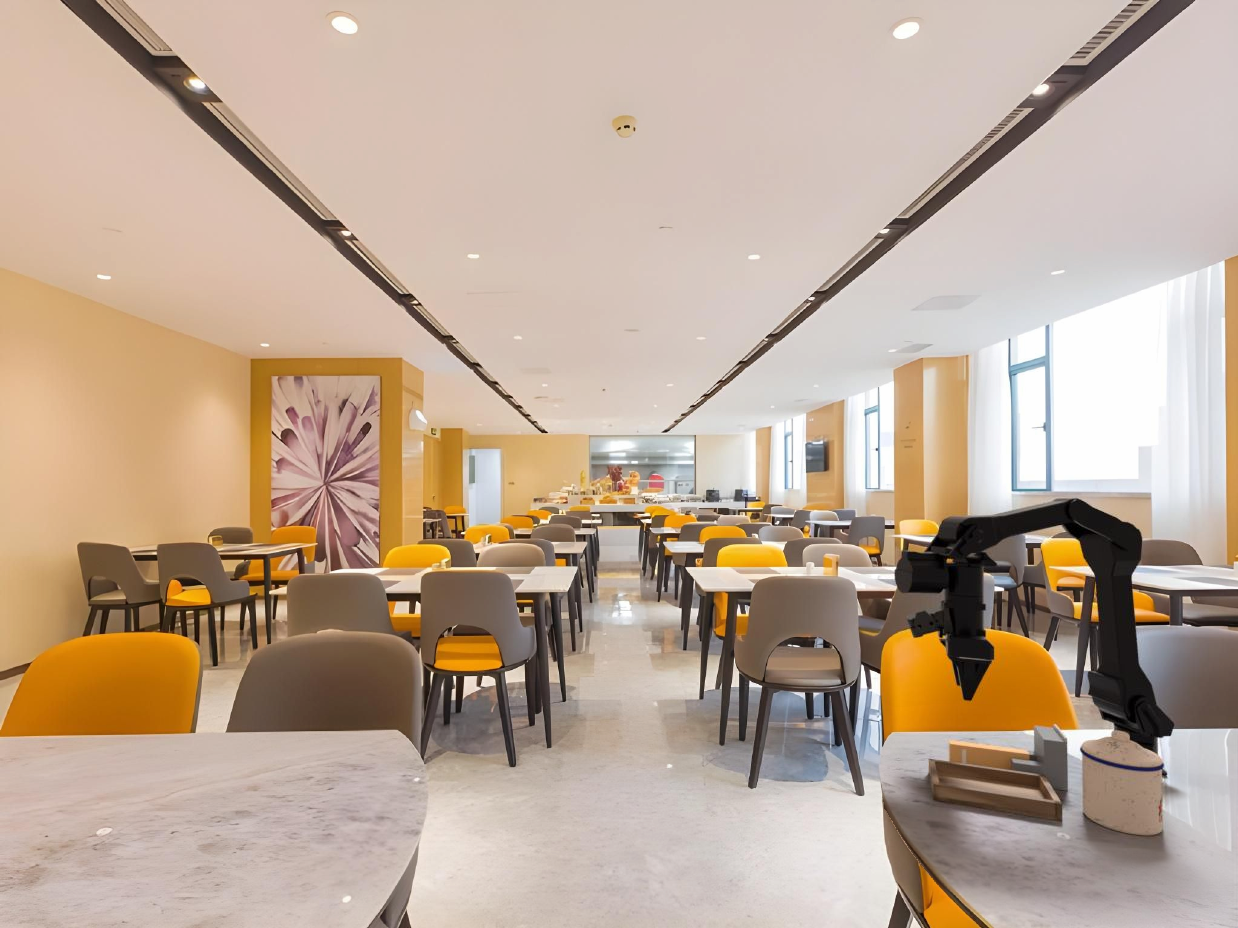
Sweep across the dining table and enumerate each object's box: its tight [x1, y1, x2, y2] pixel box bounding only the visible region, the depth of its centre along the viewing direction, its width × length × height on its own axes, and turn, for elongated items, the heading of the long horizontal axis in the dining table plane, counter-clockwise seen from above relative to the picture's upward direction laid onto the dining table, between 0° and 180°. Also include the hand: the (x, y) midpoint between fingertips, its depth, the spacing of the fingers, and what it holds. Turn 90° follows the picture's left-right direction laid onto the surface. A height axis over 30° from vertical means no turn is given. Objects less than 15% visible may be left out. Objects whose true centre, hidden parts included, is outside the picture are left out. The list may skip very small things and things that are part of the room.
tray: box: [928, 758, 1063, 822], centre depth 99 cm, size 11×16×2 cm
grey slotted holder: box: [1011, 723, 1069, 792], centre depth 105 cm, size 7×7×8 cm
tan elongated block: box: [948, 739, 1029, 770], centre depth 108 cm, size 2×11×4 cm, turn 69°
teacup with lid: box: [1079, 729, 1165, 836], centre depth 93 cm, size 12×9×12 cm
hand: (963, 692), depth 109 cm, fingers open, 9 cm apart
